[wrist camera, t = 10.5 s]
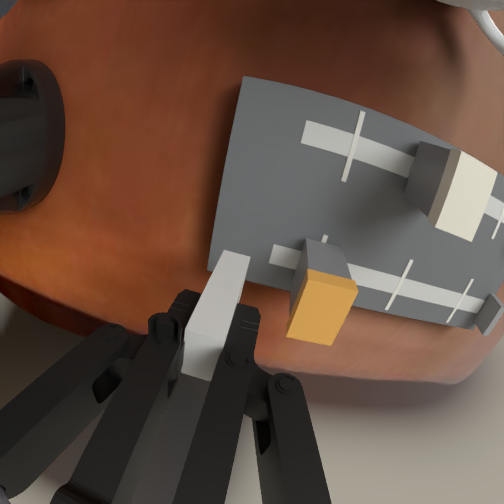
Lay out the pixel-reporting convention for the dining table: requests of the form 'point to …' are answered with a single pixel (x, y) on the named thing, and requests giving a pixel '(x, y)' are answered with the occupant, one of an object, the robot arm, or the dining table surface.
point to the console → (350, 207)
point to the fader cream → (450, 188)
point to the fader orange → (320, 293)
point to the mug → (483, 17)
